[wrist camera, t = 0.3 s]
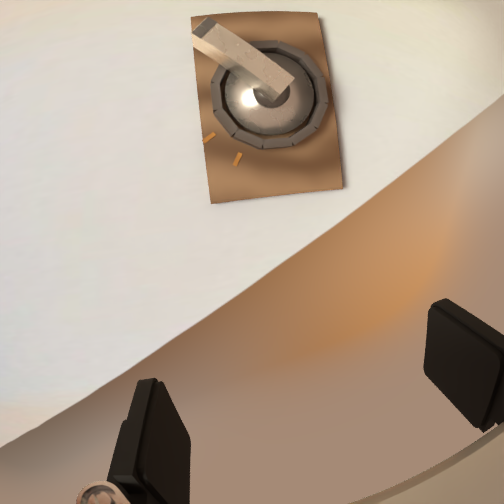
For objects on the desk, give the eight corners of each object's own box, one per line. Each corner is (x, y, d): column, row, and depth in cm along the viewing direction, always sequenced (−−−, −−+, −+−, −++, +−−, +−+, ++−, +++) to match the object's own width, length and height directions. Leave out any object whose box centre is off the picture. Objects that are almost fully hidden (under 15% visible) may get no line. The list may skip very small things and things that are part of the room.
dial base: (190, 22, 31) (188, 9, 27) (313, 17, 32) (322, 5, 29) (210, 202, 37) (209, 206, 34) (338, 188, 38) (349, 190, 35)
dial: (325, 93, 34) (347, 79, 27) (275, 153, 35) (288, 149, 28) (228, 21, 30) (231, -6, 24) (173, 77, 31) (165, 58, 25)
